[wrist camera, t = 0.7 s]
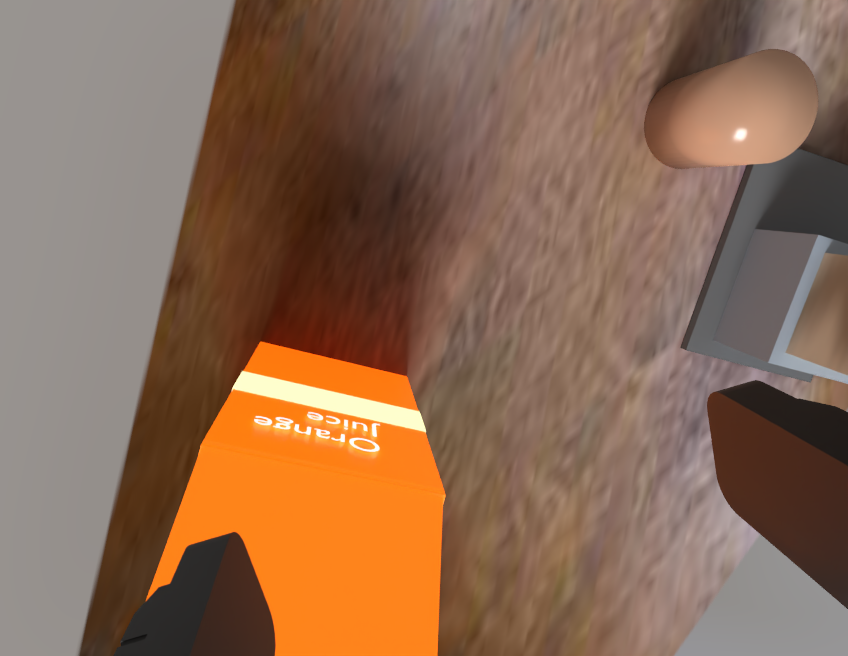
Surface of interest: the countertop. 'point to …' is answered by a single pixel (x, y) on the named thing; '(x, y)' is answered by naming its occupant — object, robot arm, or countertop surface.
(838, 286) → the maple top block
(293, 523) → the orange juice
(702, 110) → the peach rounded post
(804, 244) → the slate base block
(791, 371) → the mat
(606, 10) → the countertop surface
